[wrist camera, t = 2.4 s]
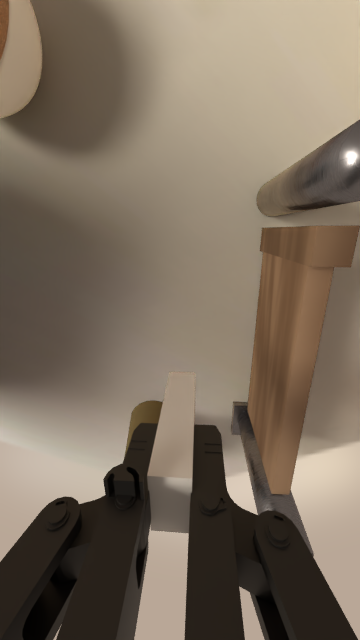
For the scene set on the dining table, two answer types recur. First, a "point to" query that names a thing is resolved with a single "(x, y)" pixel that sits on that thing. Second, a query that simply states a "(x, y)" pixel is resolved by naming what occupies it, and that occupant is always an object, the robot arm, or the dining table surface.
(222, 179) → the dining table surface
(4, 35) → the lidded jar
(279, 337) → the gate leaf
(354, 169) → the gate frame
